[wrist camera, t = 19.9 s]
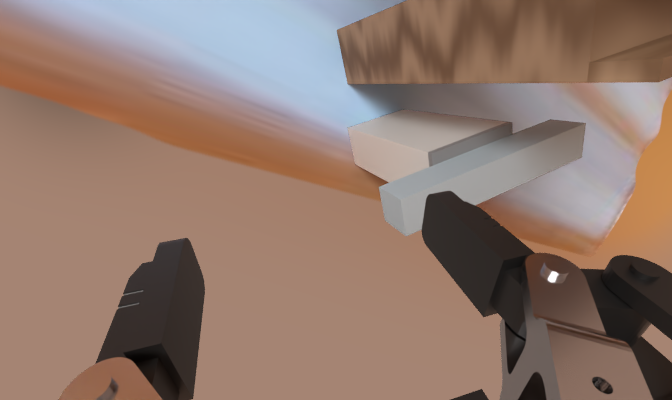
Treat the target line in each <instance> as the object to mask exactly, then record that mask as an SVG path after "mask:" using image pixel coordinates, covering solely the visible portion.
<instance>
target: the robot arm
mask: <svg viewBox="0 0 672 400" xmlns="http://www.w3.org/2000/svg"><path fill="white" fill-rule="evenodd" d="M422 236H423V239H424V242H425V244H426V245H427V247H428V248H429V249H430V251H431V252H432V253H433V254H434V255H435V257H436V258H437V259H438V261H439V262H440V263H441V264H442V266H443V267H444V268H445V269H446V271H447V272H448V273H449V274H450V276H451V277H452V278H453V279H454V281H455V282H456V283H457V284H458V286H459V287H460V288H461V289H462V290H463V292H464V293H465V294H466V296H467V297H468V298H469V299H470V301H471V302H472V303H473V304H474V306H475V307H476V308H477V309H478V311H479V312H480V313H481V314H482V316H483V317H486V316H489V315H493V314H496V313H498V314H499V315H500V316H501V317H502V320H501V323H500V335H501V357H502V378H503V380H502V391H501V395H500V400H672V363H671V362H670V361H669V360H668V359H667V358H666V357H665V356H663V355H662V354H661V353H660V352H659V351H658V350H656V349H655V348H654V347H653V346H652V345H651V344H649V343H648V342H647V341H646V340H645V339H644V338H643V337H641V335H642V334H643V333H644V332H645V331H646V329H647V328H648V327H649V326H650V325H651V324H653V325H654V326H655V327H656V328H658V329H659V330H660V331H661V332H662V333H664V334H665V335H666V336H667V337H669V338H670V339H671V340H672V273H670V272H669V271H667V270H666V269H664V268H662V267H661V266H659V265H657V264H655V263H652V262H650V261H648V260H645V259H642V258H639V257H634V256H628V255H620V256H615V257H614V258H612V259H611V260H610V262H609V264H608V265H607V267H606V269H605V270H598V269H579V268H578V267H577V266H576V265H575V264H573V263H571V262H570V261H568V260H566V259H564V258H562V257H560V256H557V255H553V254H548V253H534V252H533V251H532V250H531V249H529V248H528V247H527V246H526V245H525V244H523V243H522V242H521V241H520V240H519V239H517V238H516V237H515V236H514V235H512V234H511V233H510V232H509V231H508V230H506V229H505V228H504V227H503V226H500V224H499V223H498V222H497V221H495V220H494V219H491V216H489V215H488V214H487V213H486V212H484V211H483V210H482V209H481V208H479V207H477V206H475V205H473V204H470V203H468V202H466V201H465V202H464V201H463V200H462V199H461V198H459V197H458V196H457V195H456V194H455V193H454V192H452V191H443V192H438V193H433V194H429V195H428V196H427V198H426V203H425V210H424V217H423V224H422ZM123 294H124V296H122V298H121V300H120V303H119V305H118V307H119V309H118V310H117V311H116V313H115V316H114V318H113V321H112V323H111V326H110V328H109V331H108V333H107V336H106V339H105V341H104V343H103V346H102V349H101V351H100V354H99V356H98V359H97V361H96V363H95V364H94V365H93V366H91V367H89V368H88V369H86V370H85V371H84V372H82V373H81V374H79V375H78V376H77V377H76V378H75V379H74V380H73V381H72V382H71V383H70V384H69V385H68V386H67V388H66V389H65V390H64V391H63V393H62V395H61V396H60V398H59V399H58V400H191V399H193V394H194V385H195V376H196V367H197V357H198V349H199V340H200V331H201V322H202V313H203V304H204V295H205V287H204V279H203V275H202V272H201V269H200V266H199V264H198V261H197V259H196V256H195V253H194V250H193V248H192V245H191V242H190V241H189V239H188V238H183V239H178V240H173V241H167V242H162V243H159V245H158V247H157V250H156V253H155V257H154V260H153V261H152V262H147V263H143V264H141V266H140V267H139V268H138V269H137V270H136V271H135V272H134V274H132V276H131V277H130V278H129V280H128V283H127V285H126V288H125V290H124V293H123ZM451 400H488V398H487V396H486V395H485V393H484V392H483V390H482V389H481V390H478V391H475V392H472V393H469V394H466V395H463V396H460V397H457V398H454V399H451Z"/></svg>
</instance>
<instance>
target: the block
mask: <svg viewBox="0 0 672 400" xmlns="http://www.w3.org/2000/svg"><path fill="white" fill-rule="evenodd" d="M348 133H349V137H350V142H351V146H352V151H353V156H354V160H355V165H357V166H359V167H361V168H363V169H365V170H367V171H368V172H370V173H372V174H374V175H376V176H378V177H380V178H381V179H383V180H385V181H387V182H389V183H390V182H393V181H395V180H398V179H400V178H403V177H405V176H408V175H410V174H413V173H415V172H418V171H421V170H423V169H426V168H428V167H431V166H433V165H436V164H438V163H441V162H443V161H446V160H449V159H451V158H454V157H456V156H459V155H461V154H464V153H466V152H469V151H471V150H474V149H476V148H479V147H482V146H484V145H487V144H489V143H492V142H494V141H497V140H499V139H502V138H504V137H507V136H510V135H512V122H504V121H496V120H488V119H479V118H471V117H463V116H455V115H447V114H439V113H431V112H423V111H414V110H406V109H403V110H400V111H397V112H394V113H391V114H388V115H385V116H382V117H379V118H375V119H372V120H369V121H366V122H363V123H360V124H357V125H354V126H351V127H348Z"/></svg>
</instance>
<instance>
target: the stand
mask: <svg viewBox="0 0 672 400" xmlns="http://www.w3.org/2000/svg"><path fill="white" fill-rule="evenodd" d="M337 34H338V38H339V43H340V48H341V53H342V58H343V63H344V68H345V73H346V77H347V82H348V84H438V83H599V82H660V81H663V80H665V79H668V78H670V77H672V0H407V1H405V2H402V3H400V4H397V5H395V6H393V7H390V8H388V9H386V10H383V11H381V12H378V13H376V14H374V15H371V16H369V17H367V18H364V19H362V20H360V21H357V22H355V23H352V24H350V25H348V26H345V27H343V28H341V29H338V30H337Z"/></svg>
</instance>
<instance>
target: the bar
mask: <svg viewBox="0 0 672 400" xmlns="http://www.w3.org/2000/svg"><path fill="white" fill-rule="evenodd" d="M585 125H586V123H580V122H570V121H560V120H548V121H545V122H543V123H540V124H538V125H535V126H532V127H530V128H527V129H525V130H522V131H520V132H517V133H515V134H512V135H510V136H507V137H504V138H502V139H499V140H497V141H494V142H492V143H489V144H487V145H484V146H482V147H479V148H476V149H474V150H471V151H469V152H466V153H464V154H461V155H459V156H456V157H454V158H451V159H449V160H446V161H443V162H441V163H438V164H436V165H433V166H431V167H428V168H426V169H423V170H421V171H418V172H415V173H413V174H410V175H408V176H405V177H403V178H400V179H398V180H395V181H393V182H390V183H387V184H385V185H382V186H380V187H379V191H380V196H381V201H382V206H383V211H384V217H385V221H387V222H388V223H389V224H391V225H392V226H393V227H394V228H396V229H397V230H399V231H400V232H401V233H402V234H404V235H405V236H408V235H410V234H413V233H415V232H417V231H419V230H422V224H423V217H424V210H425V203H426V198H427V196H428V195H429V194H433V193H438V192H443V191H452V192H454V193H455V194H456V195H457V196H458V197H459V198H461V199H462V200H463V201H464V202H465V201H466V202H468V203H470V204H473V205H477V204H479V203H482V202H484V201H486V200H488V199H490V198H493V197H495V196H497V195H499V194H502V193H504V192H506V191H508V190H510V189H513V188H515V187H517V186H519V185H522V184H524V183H526V182H528V181H530V180H533V179H535V178H537V177H539V176H541V175H544V174H546V173H548V172H550V171H553V170H555V169H557V168H559V167H561V166H564V165H566V164H568V163H570V162H573V161H575V160H577V159H579V158H581V157H582V151H583V142H584V134H585Z"/></svg>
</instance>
